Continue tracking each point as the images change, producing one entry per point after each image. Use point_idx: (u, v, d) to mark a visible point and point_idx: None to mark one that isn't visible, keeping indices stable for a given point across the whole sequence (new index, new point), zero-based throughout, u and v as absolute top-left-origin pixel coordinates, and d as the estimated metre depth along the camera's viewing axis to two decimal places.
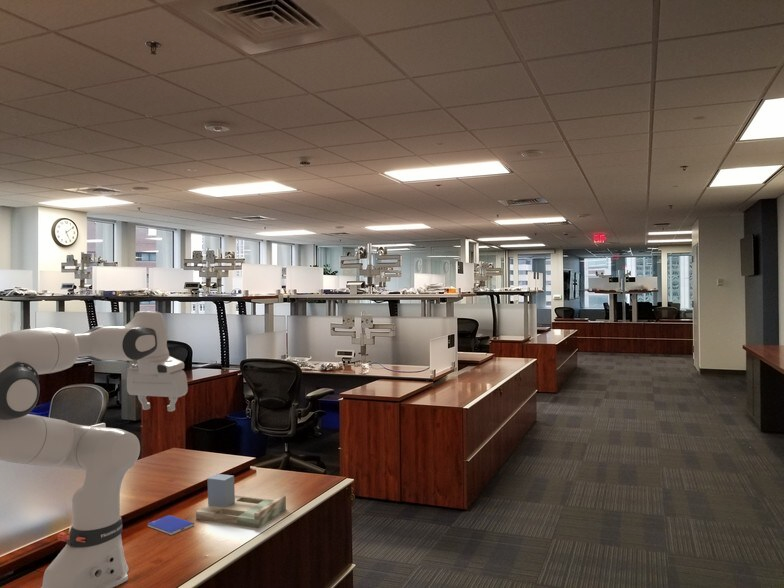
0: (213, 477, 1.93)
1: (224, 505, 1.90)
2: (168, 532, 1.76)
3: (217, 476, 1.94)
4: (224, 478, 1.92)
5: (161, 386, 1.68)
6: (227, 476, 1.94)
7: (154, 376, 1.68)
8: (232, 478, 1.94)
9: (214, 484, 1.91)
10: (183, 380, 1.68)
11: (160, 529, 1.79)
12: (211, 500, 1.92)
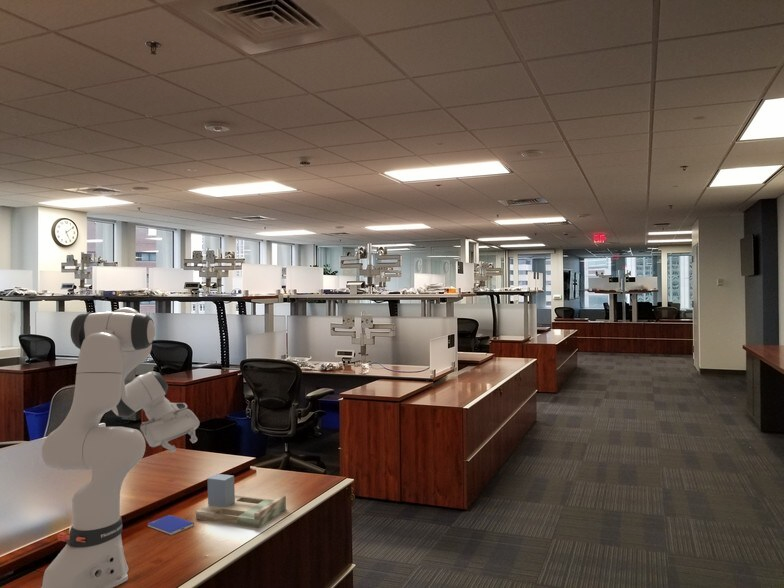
0: (213, 477, 1.93)
1: (224, 505, 1.90)
2: (168, 532, 1.76)
3: (217, 476, 1.94)
4: (224, 478, 1.92)
5: (182, 422, 2.03)
6: (227, 476, 1.94)
7: (175, 416, 2.02)
8: (232, 478, 1.94)
9: (214, 484, 1.91)
10: None
11: (160, 529, 1.79)
12: (211, 500, 1.92)
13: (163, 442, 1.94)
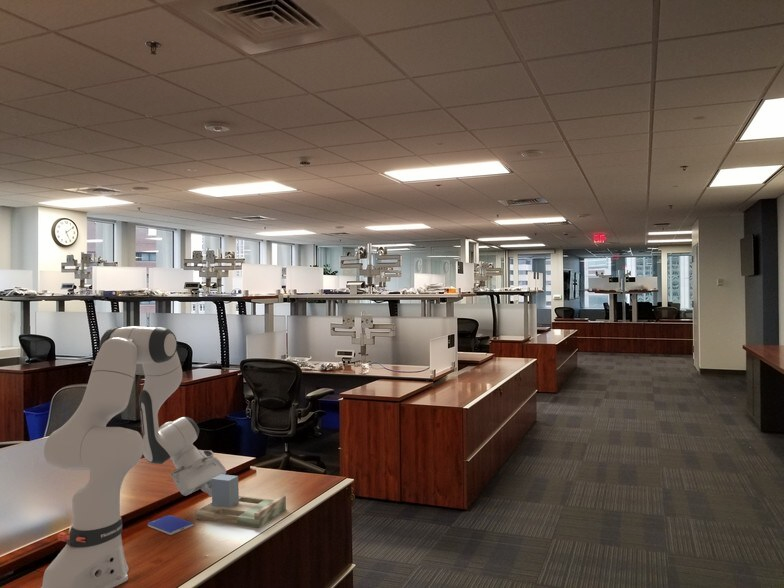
0: (217, 477, 1.93)
1: (228, 505, 1.90)
2: (167, 532, 1.76)
3: (221, 476, 1.94)
4: (229, 479, 1.91)
5: (211, 470, 1.99)
6: (231, 476, 1.93)
7: (203, 463, 1.98)
8: (236, 478, 1.93)
9: (218, 484, 1.91)
10: None
11: (160, 529, 1.79)
12: (215, 500, 1.91)
13: (203, 486, 1.93)
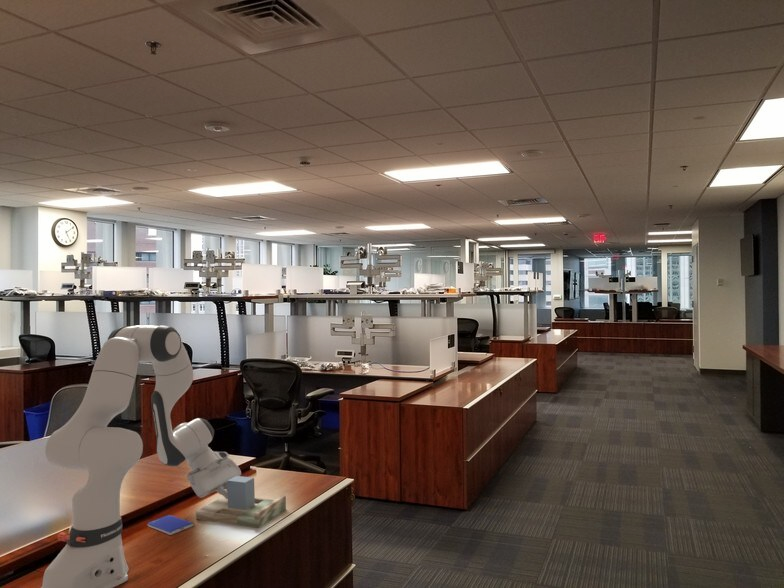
0: (233, 479, 1.90)
1: (244, 508, 1.87)
2: (167, 532, 1.76)
3: (237, 478, 1.92)
4: (245, 480, 1.89)
5: (226, 472, 1.97)
6: (247, 478, 1.91)
7: (219, 465, 1.96)
8: (252, 480, 1.91)
9: (234, 486, 1.89)
10: None
11: (159, 529, 1.79)
12: (231, 502, 1.89)
13: (219, 488, 1.91)
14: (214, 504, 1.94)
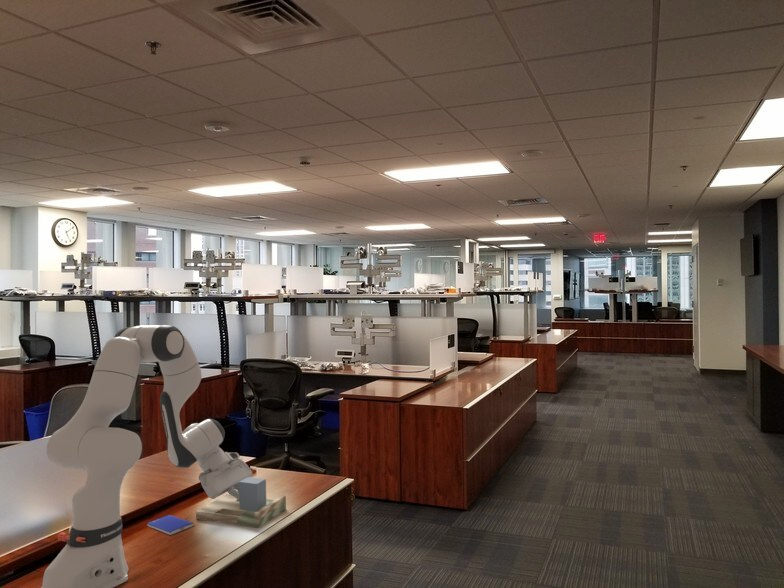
0: (244, 480, 1.89)
1: (256, 509, 1.86)
2: (167, 532, 1.76)
3: (248, 479, 1.90)
4: (256, 482, 1.87)
5: (237, 473, 1.95)
6: (259, 479, 1.89)
7: (230, 466, 1.94)
8: (264, 481, 1.89)
9: (246, 487, 1.87)
10: None
11: (159, 529, 1.79)
12: (243, 504, 1.88)
13: (230, 489, 1.89)
14: (214, 504, 1.94)
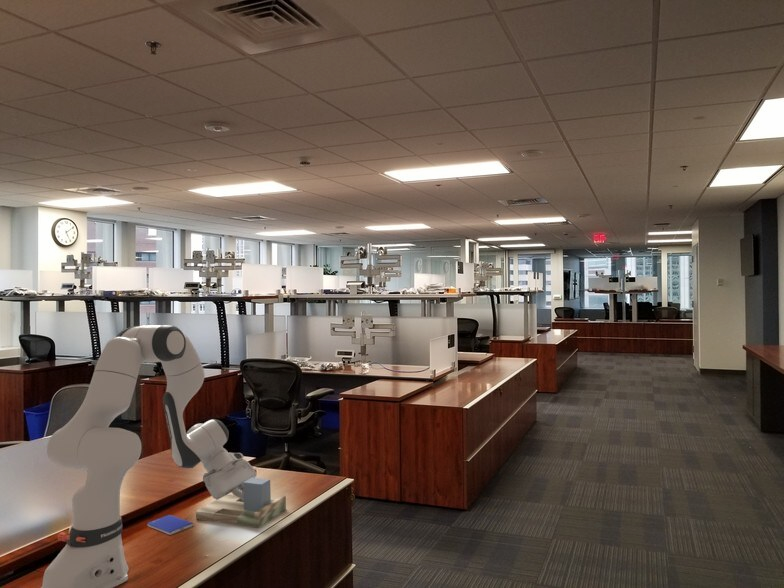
0: (249, 481, 1.88)
1: None
2: (167, 532, 1.76)
3: (253, 480, 1.89)
4: (261, 482, 1.87)
5: (241, 473, 1.95)
6: (263, 480, 1.89)
7: (234, 466, 1.94)
8: (268, 482, 1.89)
9: (250, 488, 1.86)
10: None
11: (159, 529, 1.79)
12: (247, 505, 1.87)
13: (234, 489, 1.89)
14: (214, 504, 1.94)
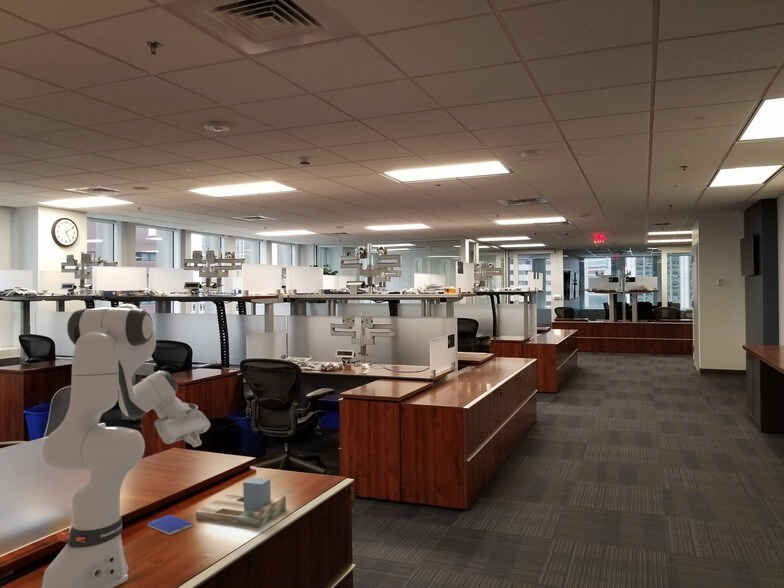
0: (249, 481, 1.88)
1: None
2: (167, 532, 1.76)
3: (253, 480, 1.89)
4: (261, 482, 1.87)
5: (194, 422, 2.00)
6: (263, 480, 1.89)
7: (187, 415, 1.99)
8: (268, 482, 1.89)
9: (250, 488, 1.86)
10: None
11: (159, 529, 1.79)
12: (247, 505, 1.87)
13: (186, 436, 1.93)
14: (214, 504, 1.94)
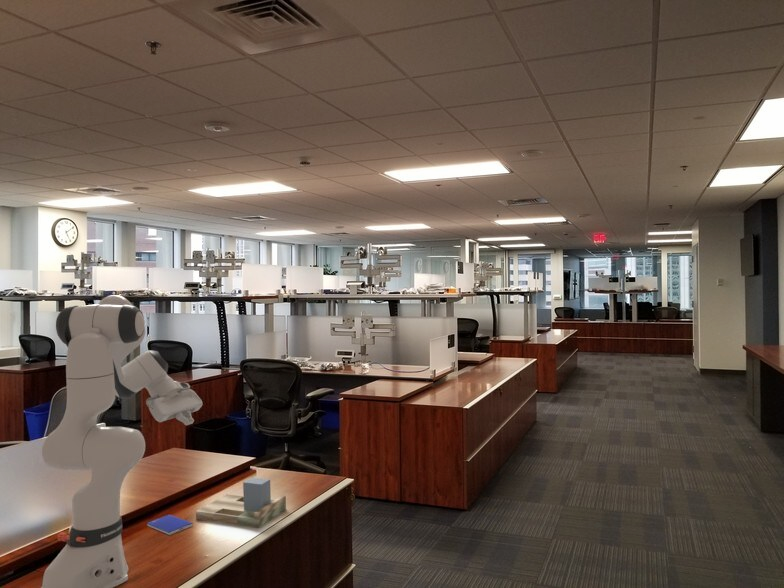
0: (249, 481, 1.88)
1: None
2: (166, 532, 1.76)
3: (253, 480, 1.89)
4: (261, 482, 1.87)
5: (186, 401, 2.00)
6: (263, 480, 1.89)
7: (179, 394, 1.99)
8: (268, 482, 1.89)
9: (250, 488, 1.86)
10: None
11: (159, 529, 1.79)
12: (247, 505, 1.87)
13: (178, 414, 1.94)
14: (214, 504, 1.94)
